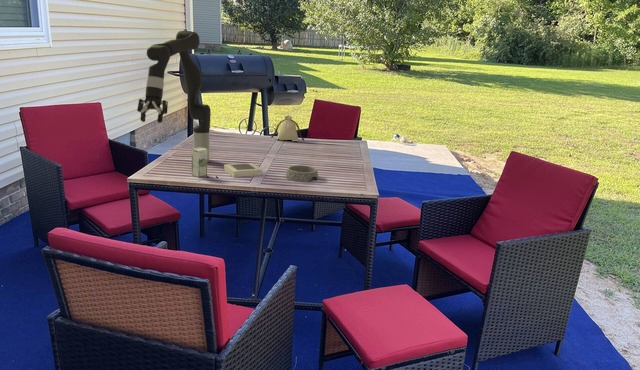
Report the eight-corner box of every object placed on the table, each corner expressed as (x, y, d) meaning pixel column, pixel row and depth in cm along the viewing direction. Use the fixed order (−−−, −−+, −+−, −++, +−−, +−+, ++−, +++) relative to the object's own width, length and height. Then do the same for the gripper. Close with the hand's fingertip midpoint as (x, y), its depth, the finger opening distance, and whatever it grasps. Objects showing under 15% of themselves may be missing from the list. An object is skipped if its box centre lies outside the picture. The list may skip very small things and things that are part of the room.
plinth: (224, 169, 273) (224, 164, 272) (251, 167, 280) (251, 162, 279) (233, 177, 259) (233, 171, 258) (261, 174, 267) (262, 169, 266)
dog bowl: (324, 178, 268) (325, 169, 267) (301, 184, 255) (302, 174, 253) (302, 172, 279) (302, 163, 277) (278, 177, 265) (279, 167, 264)
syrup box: (200, 173, 262) (200, 146, 258) (207, 175, 259) (207, 148, 255) (191, 175, 258) (191, 148, 254) (198, 177, 254) (198, 150, 250)
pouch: (304, 141, 369) (305, 115, 364) (304, 143, 361) (305, 117, 356) (271, 139, 368) (271, 113, 363) (270, 141, 360) (271, 115, 355)
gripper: (172, 90, 231) (168, 124, 231) (146, 89, 235) (142, 122, 234) (164, 86, 224) (160, 121, 223) (136, 85, 227) (132, 119, 227)
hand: (151, 122), depth 229 cm, fingers open, 8 cm apart
